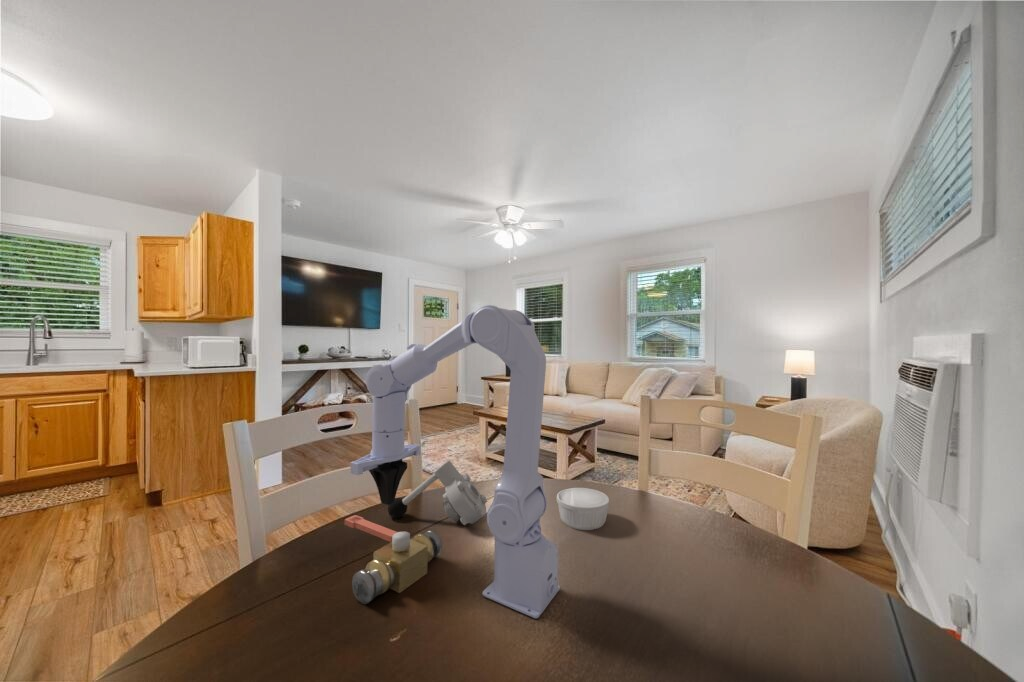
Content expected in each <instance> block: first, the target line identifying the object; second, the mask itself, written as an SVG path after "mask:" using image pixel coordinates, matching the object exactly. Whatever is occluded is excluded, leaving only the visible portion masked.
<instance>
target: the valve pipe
mask: <svg viewBox="0 0 1024 682" xmlns="http://www.w3.org/2000/svg"><path fill="white" fill-rule="evenodd" d="M442 550H443V542H442V538H441V537H440V535H439V533H437V532H436V531H435V530H433V529H431V530H430V529H429V530H427V531H425V532H424V533H418V534H416V535H414V536H412V537H411V538H410V547H409V548H408V549H407V550H405V551H394V550H393V549H392V542H389V543H387V544H385V545H383V546H381V547H380V548H379V549H378V548H377V550H375V551H373V560H371V561H369V562H368V563H367V564H366V566H365V568H364V569H361V570H359V571H357V572H356V573H354V574H353V576H352V580H351V588H352V592H353V594H354V596H355V599H356V600H357V601H358V602H359V603H361V604H362V605H367V604H369V603H370V602H372V601H373V600H374V599H375V598H376V597H378V596H380V595H382V594H384V593H385V592H387V591H388V590H389V589H391V591H395V592H396V593H398V594H401V593H402V592H404V590H406V589H407V588H409V587H410V586H411V585H413V584H414V583H416V582H417V581H419V580H420V579H421V578H423V577H424V576H425V575H427V574H428V562H430V561H431V560H432V559H434V558H436V557H438V556H439V555H440V554H441V553H442Z"/></svg>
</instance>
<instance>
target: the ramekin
mask: <svg viewBox="0 0 1024 682" xmlns="http://www.w3.org/2000/svg"><path fill="white" fill-rule="evenodd" d="M556 502H557V505H558V511H559V512H558V513H559V517H560V520H561V521H562V522H563V524H564V525H566V526H567V527H570V528H572V529H574V530H580V531H594V529H595V530H598V529H600V528H601V527H603V526H604V525H605V523H606V520H607V515H608V510H609V507H610V503H611V502H610V498H609V496H608V495H607V494H605V493H604V492H602V491H599V490H597V489H592V488H587V487H570V488H565V489H562V490H560V491H559V492H557V494H556Z"/></svg>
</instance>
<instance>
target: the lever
mask: <svg viewBox="0 0 1024 682" xmlns="http://www.w3.org/2000/svg"><path fill="white" fill-rule="evenodd" d="M344 525H345V526H347V527H349V528H352V529H354V528H355V529H358V530H360V531H363V532H365V533H368V534H370V535H372V536H375V537H377V538H380V539H382V540H385V541H387V542H389V543H391V542H392V549H393V550H394V551H405V550H407V549H408V548H409V547H410V539H411V533H410V532H408V531H396V530H392V529H391V528H388V527H385V526H383V525H380V524H377V523H374V522H372V521H370V520H367V519H365V518H364V517H362V516H360V515H356V514H354V515H352V516H349V517H347V518H345V519H344Z"/></svg>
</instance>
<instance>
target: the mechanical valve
mask: <svg viewBox="0 0 1024 682" xmlns="http://www.w3.org/2000/svg"><path fill="white" fill-rule="evenodd" d="M437 480H439V481H440V482H441V484H442V485H443V486H444V488H445V493H444V494H442V499H443V502H442V508H443V510H444V512H445V514H446V516H447V517H448V518H449V519H450V520H451V521H452V522H458V521H460V522H461V524H462V525H464V526H466V525H467V524H471V525H473V524H475V523H476V522H478V521H479V520H480V519H481V518H483V516H485V515H487V506H486V504H487V502H488V498H487V497H486V496H485V495H484V494H481V493H480V491H479V489H477V487H476V486H475V485H474V483H472V481H471V476H470V475H469V474H468V473H465V474H461V473H460V472H459V470H458V469H457V468H456V466H455V465H454V464H453V462H452V461H451V460H450V459H447V460H446V461H445V462H444V463H442V464H441V465H440V466H439V467H438V468H436V470H434V472H433V474H431V475H430V476H429V477H428V478H426V480H424V481H423V482H422V483H420V484H419V485H418V486H417V487H416V488H414V490H412V491H411V492H410V493H408V494H407V495H406V496H405V497H395V500H394V503H392V504H389V505H387V513H388V515H389V516H390V517H391V518H393V519H401V518H403V516H404V515H406V513H407V511H408V504H409V503H410V502H412V501H413V500H414V499H416V497H418V496H419V495H420V494H421V493H423V492H424V491H425V490H426V489H428V488H429V487H430V486H431V485H432V484H434V482H436V481H437ZM400 498H401V499H400Z"/></svg>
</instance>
